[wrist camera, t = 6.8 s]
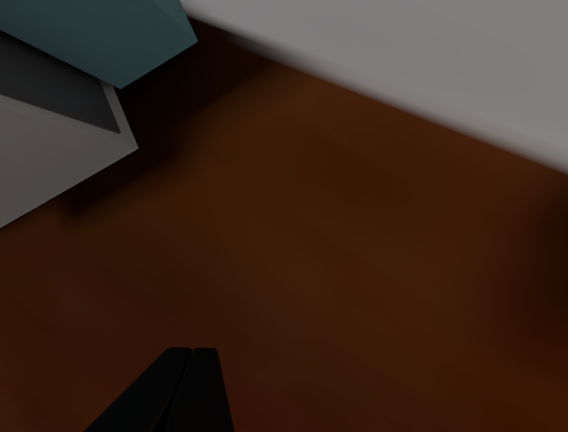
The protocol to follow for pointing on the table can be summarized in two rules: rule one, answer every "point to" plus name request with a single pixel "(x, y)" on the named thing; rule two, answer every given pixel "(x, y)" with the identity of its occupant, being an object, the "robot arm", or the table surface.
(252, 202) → the table surface
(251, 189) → the table surface
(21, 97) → the camera body
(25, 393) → the table surface
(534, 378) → the table surface
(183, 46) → the side door
